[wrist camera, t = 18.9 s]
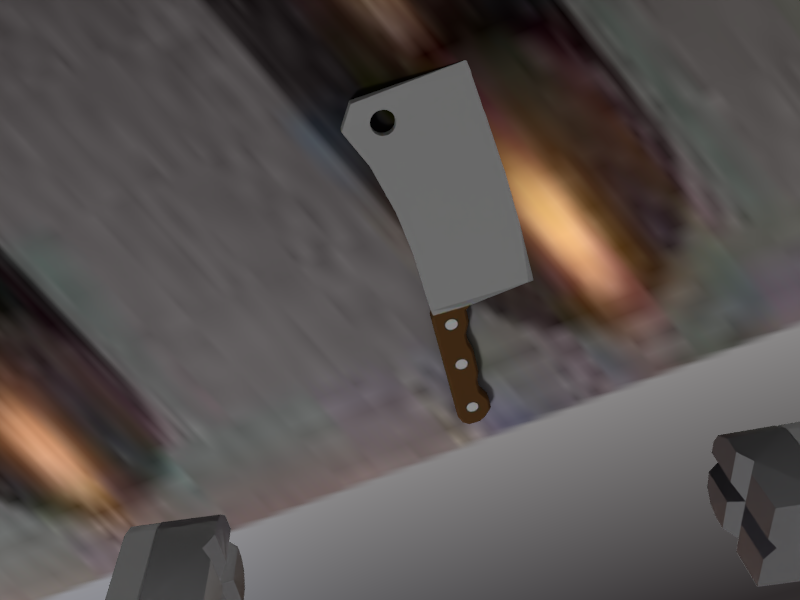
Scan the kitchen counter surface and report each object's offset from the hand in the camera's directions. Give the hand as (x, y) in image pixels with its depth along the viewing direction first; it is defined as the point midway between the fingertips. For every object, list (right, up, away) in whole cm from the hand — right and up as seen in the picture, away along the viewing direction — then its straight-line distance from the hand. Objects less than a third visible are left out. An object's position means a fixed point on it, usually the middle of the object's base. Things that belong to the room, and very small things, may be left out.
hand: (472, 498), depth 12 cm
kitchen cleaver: (+3, +6, +32) cm, 33 cm away
